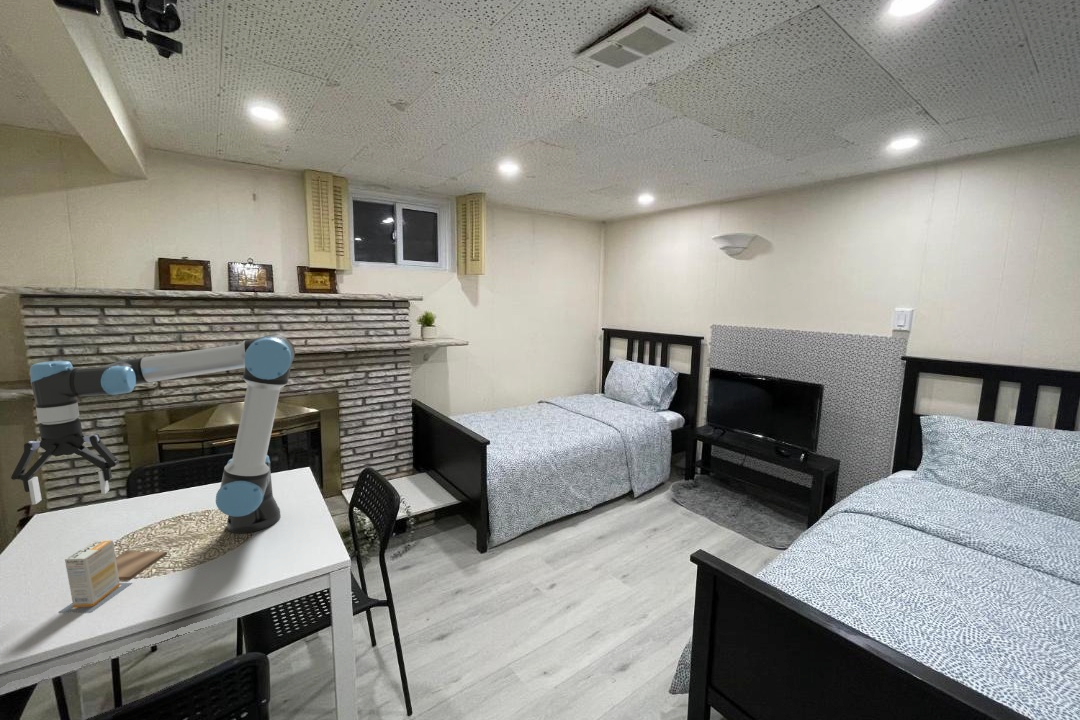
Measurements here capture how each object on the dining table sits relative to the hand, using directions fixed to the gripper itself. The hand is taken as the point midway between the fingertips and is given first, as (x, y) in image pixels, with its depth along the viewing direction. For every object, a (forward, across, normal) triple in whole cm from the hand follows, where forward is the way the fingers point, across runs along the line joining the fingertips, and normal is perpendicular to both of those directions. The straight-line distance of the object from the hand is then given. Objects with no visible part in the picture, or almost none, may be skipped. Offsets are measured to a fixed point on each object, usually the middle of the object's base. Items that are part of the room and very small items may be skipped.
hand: (72, 497), depth 121 cm
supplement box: (+22, -8, +15) cm, 28 cm away
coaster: (+22, -10, +2) cm, 24 cm away
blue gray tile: (+22, -8, +15) cm, 28 cm away
